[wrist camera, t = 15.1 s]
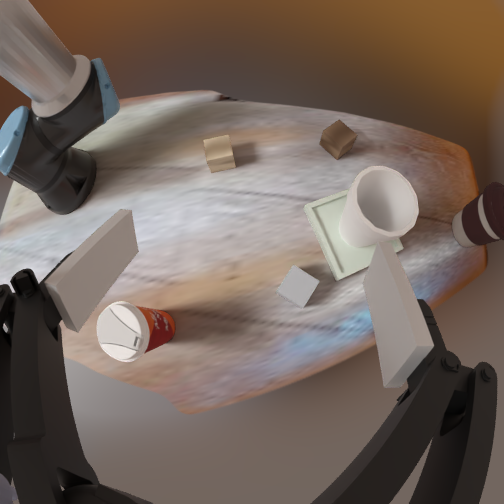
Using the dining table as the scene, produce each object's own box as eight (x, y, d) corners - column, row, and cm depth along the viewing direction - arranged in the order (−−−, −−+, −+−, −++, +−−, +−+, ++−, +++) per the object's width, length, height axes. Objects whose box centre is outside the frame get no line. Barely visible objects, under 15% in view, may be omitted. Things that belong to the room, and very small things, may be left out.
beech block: (208, 153, 49) (203, 140, 44) (231, 147, 48) (228, 134, 44) (211, 173, 48) (206, 160, 43) (235, 167, 48) (232, 154, 43)
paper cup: (187, 313, 43) (152, 315, 29) (174, 356, 41) (136, 374, 28) (146, 297, 44) (101, 291, 30) (134, 338, 42) (87, 346, 29)
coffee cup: (474, 209, 43) (517, 183, 28) (481, 254, 41) (529, 237, 26) (442, 205, 44) (486, 173, 29) (449, 254, 42) (500, 234, 27)
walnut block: (319, 144, 48) (323, 130, 43) (334, 133, 48) (339, 119, 44) (336, 160, 47) (342, 147, 42) (351, 148, 47) (357, 135, 43)
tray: (303, 209, 45) (305, 204, 43) (366, 185, 45) (370, 180, 43) (335, 281, 42) (338, 279, 40) (398, 251, 43) (403, 248, 41)
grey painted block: (275, 292, 43) (276, 291, 38) (290, 268, 43) (293, 264, 39) (299, 308, 42) (303, 308, 38) (314, 284, 43) (319, 281, 38)
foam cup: (390, 245, 42) (429, 222, 29) (344, 266, 42) (373, 248, 29) (366, 195, 44) (396, 158, 31) (320, 212, 44) (338, 176, 31)
